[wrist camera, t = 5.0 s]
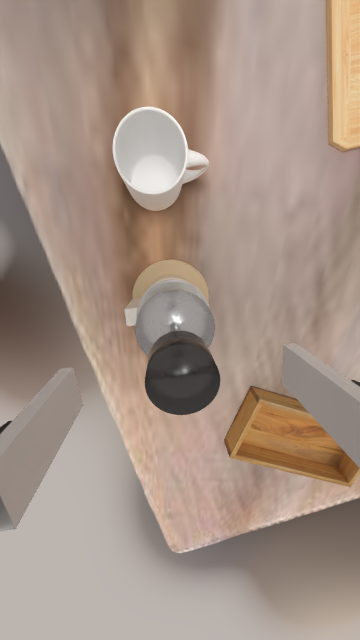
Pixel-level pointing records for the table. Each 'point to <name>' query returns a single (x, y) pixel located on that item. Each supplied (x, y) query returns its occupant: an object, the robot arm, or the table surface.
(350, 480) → the tray
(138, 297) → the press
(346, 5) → the cutting board
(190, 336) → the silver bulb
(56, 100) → the table surface
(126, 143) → the mug
